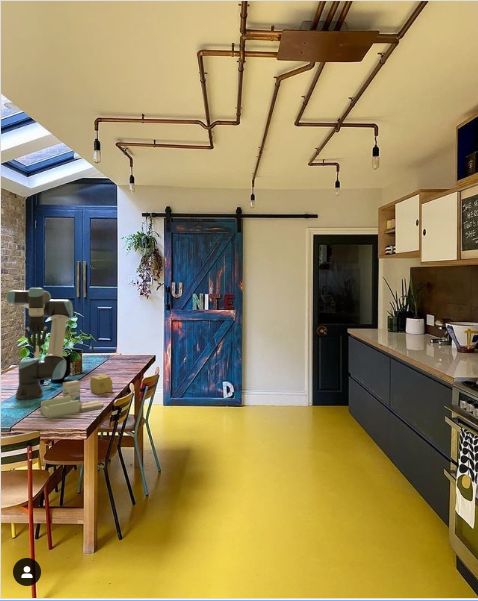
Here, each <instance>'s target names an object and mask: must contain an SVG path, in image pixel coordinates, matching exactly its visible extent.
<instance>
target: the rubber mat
mask: <svg viewBox="0 0 478 601" xmlns="http://www.w3.org/2000/svg"><path fill="white" fill-rule="evenodd" d="M100 409H103V406H100V407H96V408H91V409H86V410H82V411H79V413H87V412H92V411H95V410H100Z"/></svg>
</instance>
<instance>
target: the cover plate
mask: <svg viewBox="0 0 478 601" xmlns="http://www.w3.org/2000/svg"><path fill="white" fill-rule="evenodd" d="M104 406H105V403H103V402H101V401H100V400H96V399H95V400H91V401H87V402H82V403H81V402H79V412H80V411H82V410H86V409H91V408H96V407H104Z"/></svg>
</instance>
